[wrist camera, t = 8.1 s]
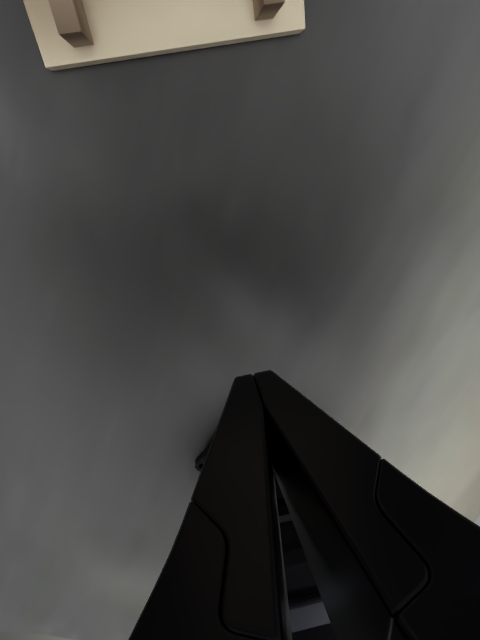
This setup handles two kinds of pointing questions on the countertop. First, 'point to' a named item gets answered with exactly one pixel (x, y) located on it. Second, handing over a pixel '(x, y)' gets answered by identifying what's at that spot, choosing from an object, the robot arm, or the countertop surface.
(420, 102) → the countertop surface
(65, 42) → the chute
